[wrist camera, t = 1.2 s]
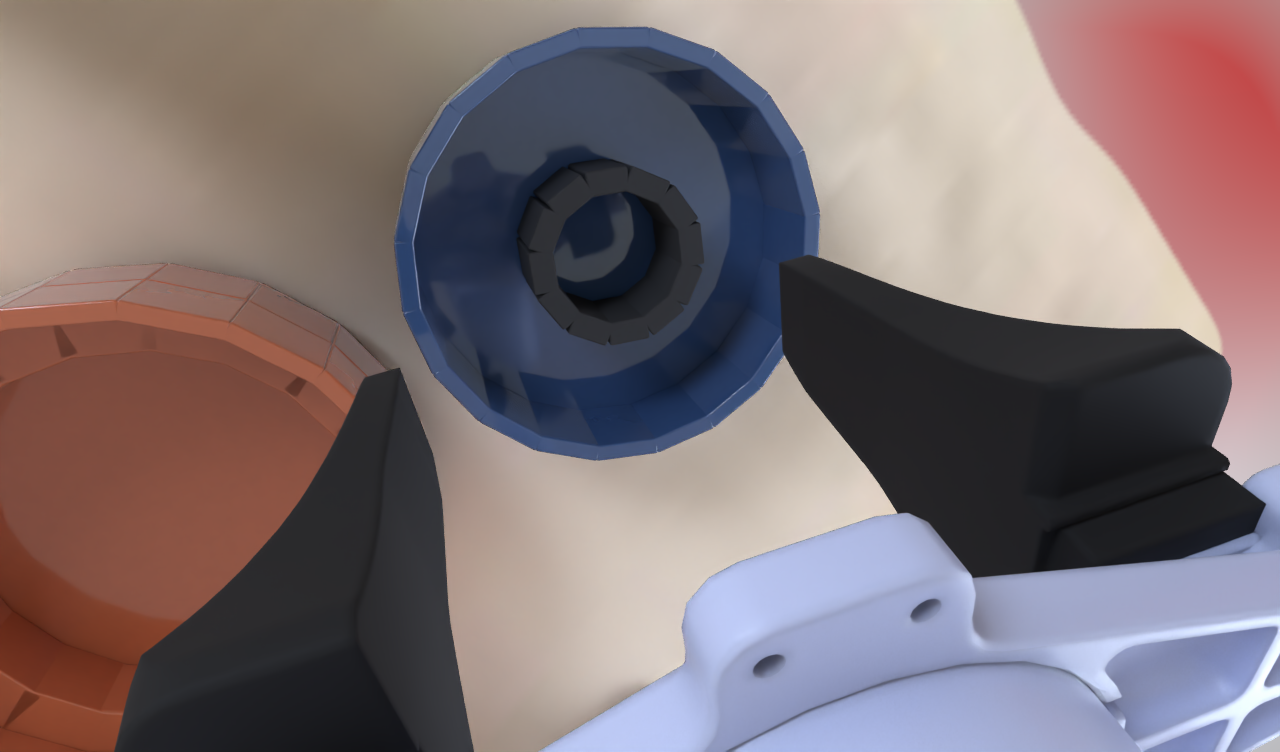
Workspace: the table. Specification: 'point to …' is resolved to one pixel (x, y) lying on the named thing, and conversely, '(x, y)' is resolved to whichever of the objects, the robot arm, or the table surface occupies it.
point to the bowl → (143, 470)
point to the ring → (667, 271)
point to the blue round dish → (602, 239)
